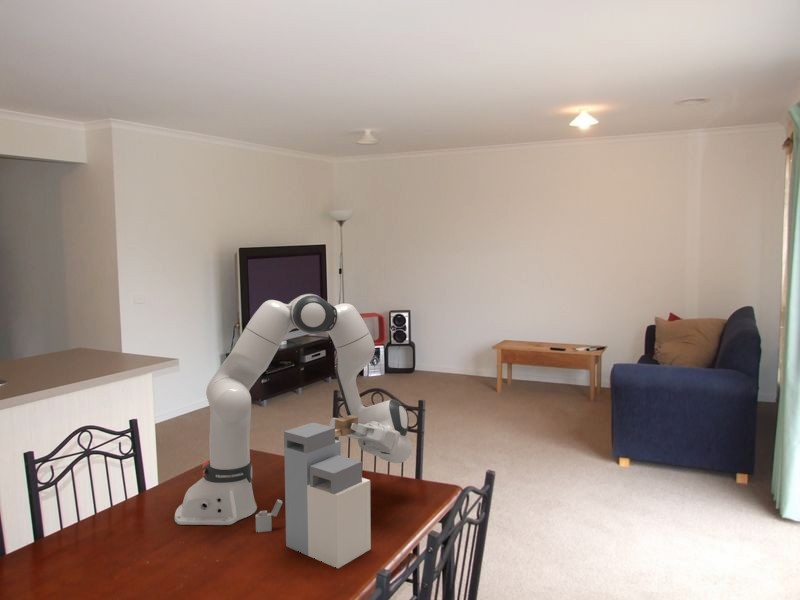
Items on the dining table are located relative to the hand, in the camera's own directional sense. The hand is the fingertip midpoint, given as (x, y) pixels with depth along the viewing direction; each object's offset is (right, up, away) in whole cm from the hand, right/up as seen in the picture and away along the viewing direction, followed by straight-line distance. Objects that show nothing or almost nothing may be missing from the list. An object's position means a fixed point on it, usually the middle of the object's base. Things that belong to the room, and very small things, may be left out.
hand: (344, 424), depth 172 cm
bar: (-3, -3, -3) cm, 5 cm away
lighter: (-20, -29, +1) cm, 35 cm away
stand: (-3, -29, -10) cm, 31 cm away
